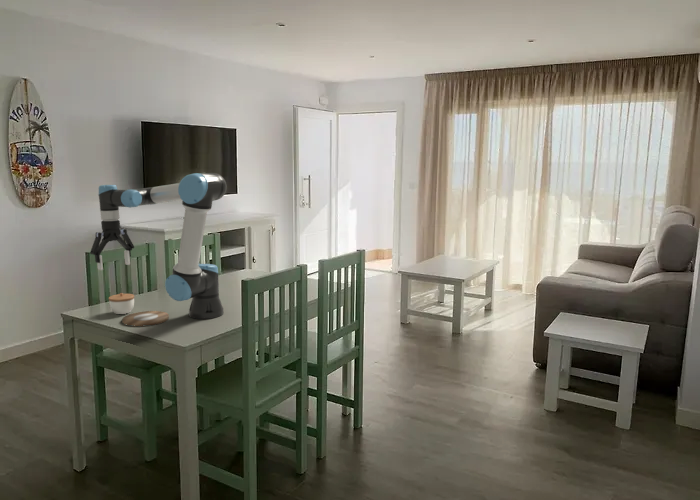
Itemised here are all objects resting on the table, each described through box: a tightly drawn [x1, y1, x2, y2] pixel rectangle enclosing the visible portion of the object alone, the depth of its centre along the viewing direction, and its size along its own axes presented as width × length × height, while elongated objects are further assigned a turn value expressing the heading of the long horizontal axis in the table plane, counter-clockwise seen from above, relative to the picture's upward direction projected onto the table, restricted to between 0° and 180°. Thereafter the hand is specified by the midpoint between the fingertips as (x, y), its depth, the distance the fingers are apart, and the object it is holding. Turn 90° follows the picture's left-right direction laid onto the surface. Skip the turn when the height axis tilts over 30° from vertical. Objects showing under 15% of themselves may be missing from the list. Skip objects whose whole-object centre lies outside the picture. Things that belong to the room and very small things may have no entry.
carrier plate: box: [121, 310, 170, 327], centre depth 236 cm, size 19×19×1 cm
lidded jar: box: [108, 292, 135, 315], centre depth 245 cm, size 11×11×9 cm
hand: (114, 267), depth 243 cm, fingers open, 13 cm apart
